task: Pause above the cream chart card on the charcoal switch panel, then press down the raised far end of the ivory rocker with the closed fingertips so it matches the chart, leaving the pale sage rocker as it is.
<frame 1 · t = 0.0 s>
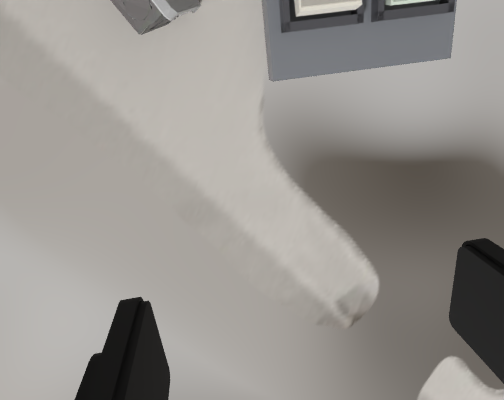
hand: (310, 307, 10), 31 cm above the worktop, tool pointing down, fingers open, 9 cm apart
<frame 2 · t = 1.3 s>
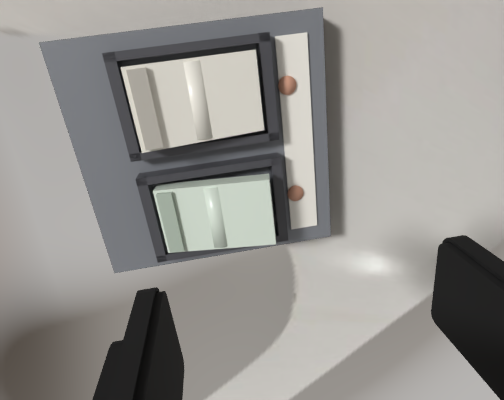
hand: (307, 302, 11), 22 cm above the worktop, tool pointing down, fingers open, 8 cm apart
rocker sage: (217, 214, 28), point 5 cm above the worktop, hinge at 10.0°
switch panel: (207, 146, 31), on the worktop
rocker ivory: (197, 100, 25), point 5 cm above the worktop, hinge at -10.0°
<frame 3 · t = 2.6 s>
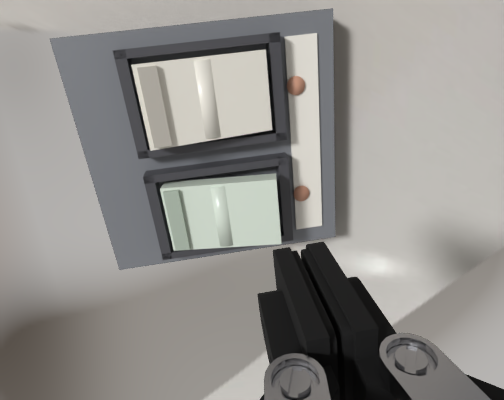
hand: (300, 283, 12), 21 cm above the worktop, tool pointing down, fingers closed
rocker sage: (223, 213, 28), point 5 cm above the worktop, hinge at 10.0°
switch panel: (214, 145, 31), on the worktop
rocker ivory: (206, 99, 25), point 5 cm above the worktop, hinge at -10.0°
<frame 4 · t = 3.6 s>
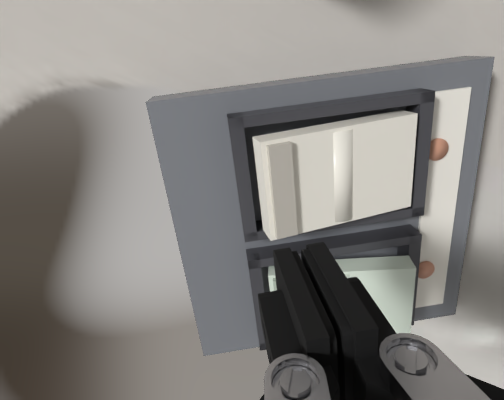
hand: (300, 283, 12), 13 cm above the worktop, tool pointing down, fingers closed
rocker sage: (339, 301, 23), point 5 cm above the worktop, hinge at 10.0°
switch panel: (318, 211, 26), on the worktop
rocker ivory: (337, 174, 20), point 5 cm above the worktop, hinge at -10.0°
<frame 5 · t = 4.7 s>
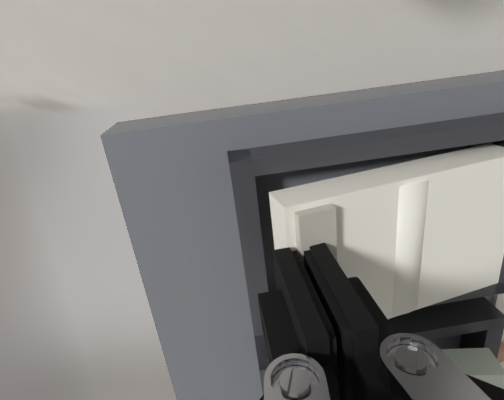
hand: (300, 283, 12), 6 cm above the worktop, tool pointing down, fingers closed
switch panel: (351, 273, 19), on the worktop
rocker ivory: (397, 243, 13), point 5 cm above the worktop, hinge at -10.0°, touching gripper
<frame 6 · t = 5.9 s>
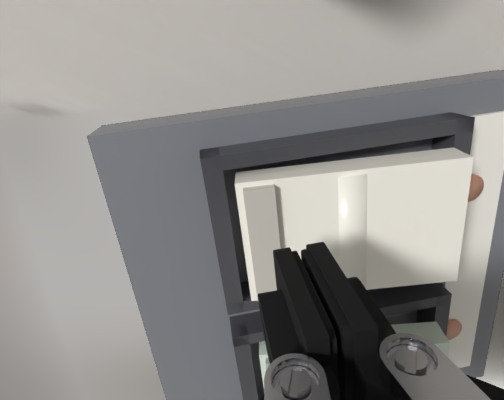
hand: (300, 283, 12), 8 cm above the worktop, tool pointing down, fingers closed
rocker sage: (350, 379, 18), point 5 cm above the worktop, hinge at 10.0°
switch panel: (318, 260, 21), on the worktop
rocker ivory: (348, 228, 15), point 5 cm above the worktop, hinge at 8.0°
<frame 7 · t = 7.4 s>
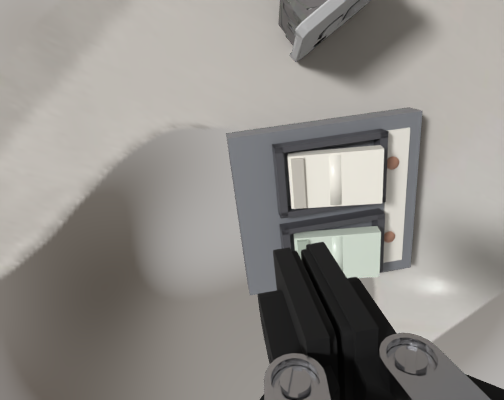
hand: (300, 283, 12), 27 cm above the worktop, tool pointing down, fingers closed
rocker sage: (336, 254, 39), point 5 cm above the worktop, hinge at 10.0°
switch panel: (322, 201, 41), on the worktop
rocker ivory: (334, 178, 35), point 5 cm above the worktop, hinge at 12.8°
electrical switch: (314, 9, 33), on the worktop
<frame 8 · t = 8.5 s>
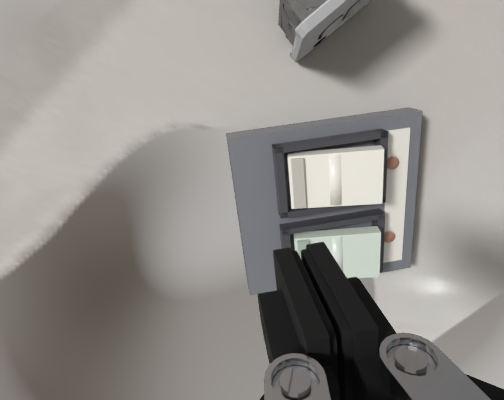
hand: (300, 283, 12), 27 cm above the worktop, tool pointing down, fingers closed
rocker sage: (336, 255, 39), point 5 cm above the worktop, hinge at 10.0°
switch panel: (322, 201, 41), on the worktop
rocker ivory: (334, 178, 35), point 5 cm above the worktop, hinge at 13.4°
electrical switch: (314, 9, 33), on the worktop
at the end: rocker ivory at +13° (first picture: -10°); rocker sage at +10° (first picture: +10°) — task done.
